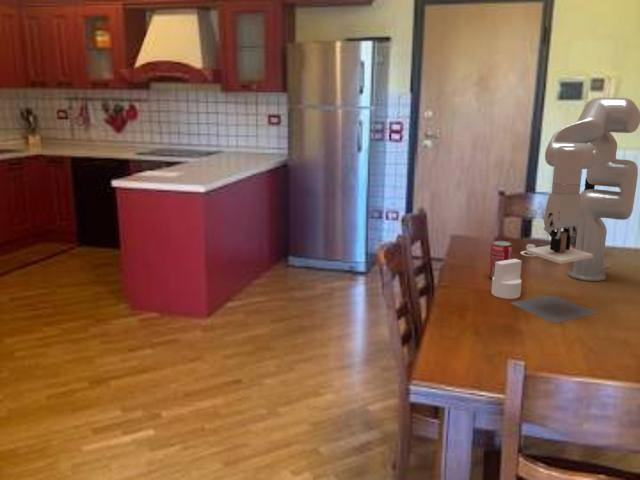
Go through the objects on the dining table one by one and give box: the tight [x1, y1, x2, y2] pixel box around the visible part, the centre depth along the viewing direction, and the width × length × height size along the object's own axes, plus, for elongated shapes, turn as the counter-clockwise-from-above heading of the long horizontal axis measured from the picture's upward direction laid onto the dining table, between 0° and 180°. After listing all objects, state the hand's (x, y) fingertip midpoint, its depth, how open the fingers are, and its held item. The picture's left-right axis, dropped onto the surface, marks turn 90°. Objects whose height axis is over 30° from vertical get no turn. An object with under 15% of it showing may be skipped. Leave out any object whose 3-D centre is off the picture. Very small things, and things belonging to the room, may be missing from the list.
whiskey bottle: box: [570, 177, 596, 249], centre depth 239 cm, size 10×10×32 cm
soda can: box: [489, 240, 513, 279], centre depth 211 cm, size 7×7×13 cm
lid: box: [526, 230, 593, 265], centre depth 176 cm, size 13×13×7 cm
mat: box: [509, 294, 599, 324], centre depth 181 cm, size 18×18×1 cm
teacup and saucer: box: [520, 243, 537, 257], centre depth 243 cm, size 9×8×4 cm
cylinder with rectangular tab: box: [491, 258, 523, 300], centre depth 192 cm, size 9×9×12 cm
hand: (559, 249), depth 177 cm, fingers closed on lid, 3 cm apart
